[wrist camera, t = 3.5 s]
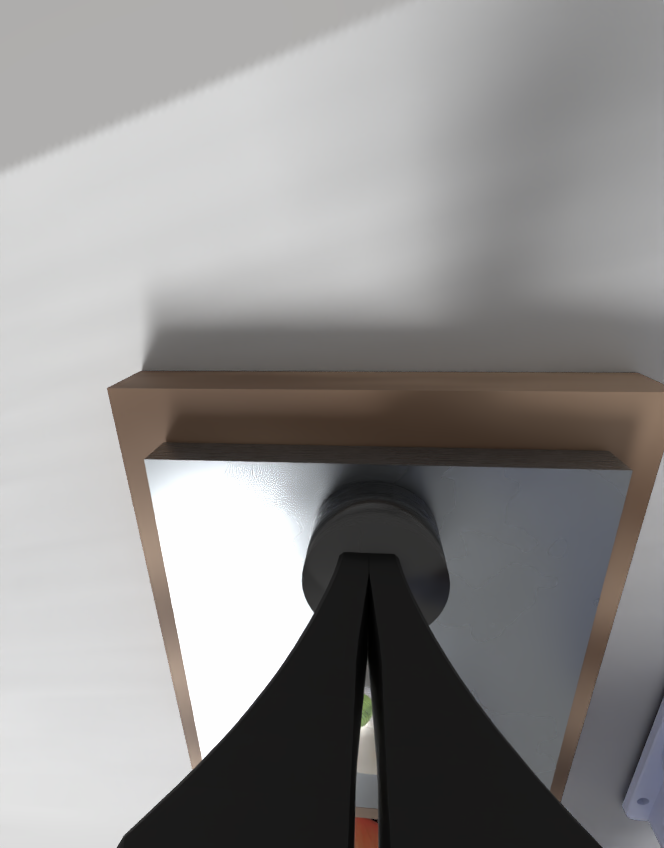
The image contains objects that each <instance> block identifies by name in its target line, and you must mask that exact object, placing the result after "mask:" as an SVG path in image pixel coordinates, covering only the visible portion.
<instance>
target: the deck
mask: <svg viewBox="0 0 664 848" xmlns="http://www.w3.org/2000/svg"><path fill="white" fill-rule="evenodd" d="M144 462H145V467H146V472H147V477H148V482H149V487H150V492H151V498H152V503H153V508H154V513H155V518H156V523H157V528H158V534H159V539H160V544H161V549H162V554H163V559H164V564H165V570H166V575H167V580H168V585H169V590H170V595H171V600H172V606H173V611H174V616H175V621H176V626H177V631H178V636H179V641H180V647H181V652H182V657H183V662H184V667H185V672H186V677H187V683H188V688H189V693H190V698H191V703H192V708H193V713H194V719H195V724H196V729H197V734H198V739H199V744H200V749H201V755H202V759H203V758H204V757H205V756H206V755H207V754H208V753H209V752H210V751H211V750H212V749H213V748H214V747H215V745H216V744H217V743H218V742H219V741H220V740H221V739H222V738H223V737H224V736H225V735H226V734H227V733H228V732H229V730H230V729H231V728H232V727H233V726H234V725H235V724H236V722H237V721H238V720H239V719H240V718H241V716H242V715H243V714H244V713H245V712H246V710H247V709H248V708H249V707H250V705H251V704H252V703H253V702H254V700H255V699H256V698H257V697H258V696H259V694H260V693H261V692H262V691H263V689H264V688H265V687H266V685H267V684H268V683H269V681H270V680H271V679H272V677H273V676H274V675H275V673H276V672H277V670H278V669H279V668H280V666H281V665H282V663H283V662H284V661H285V659H286V658H287V656H288V655H289V653H290V652H291V650H292V649H293V647H294V646H295V644H296V642H297V641H298V639H299V637H300V636H301V634H302V632H303V631H304V629H305V628H306V626H307V624H308V623H309V621H310V619H311V618H312V616H313V614H314V612H315V610H316V608H317V606H318V604H319V603H320V601H321V599H322V597H323V595H324V593H325V591H326V589H327V587H328V584H329V582H330V580H331V578H332V575H333V573H334V570H335V568H336V565H337V562H338V558H339V555H341V554H342V553H343V552H356V553H383V554H395V555H396V556H397V557H398V558H399V561H400V564H401V567H402V570H403V573H404V575H405V578H406V580H407V583H408V585H409V587H410V589H411V592H412V594H413V596H414V598H415V600H416V602H417V604H418V606H419V608H420V610H421V612H422V614H423V616H424V618H425V620H426V621H427V623H428V625H429V627H430V629H431V631H432V632H433V634H434V636H435V638H436V639H437V641H438V643H439V644H440V646H441V648H442V649H443V651H444V653H445V654H446V656H447V658H448V659H449V661H450V662H451V664H452V666H453V667H454V669H455V670H456V672H457V673H458V675H459V676H460V678H461V679H462V681H463V682H464V684H465V685H466V686H467V688H468V689H469V691H470V692H471V694H472V695H473V696H474V698H475V699H476V701H477V702H478V703H479V705H480V706H481V707H482V709H483V710H484V711H485V713H486V714H487V715H488V717H489V718H490V719H491V721H492V722H493V723H494V725H495V726H496V727H497V729H498V730H499V731H500V732H501V734H502V735H503V736H504V737H505V738H506V740H507V741H508V742H509V743H510V744H511V746H512V747H513V748H514V749H515V750H516V752H517V753H518V754H519V755H520V756H521V758H522V759H523V760H524V761H525V763H526V764H527V765H528V766H529V767H530V769H531V770H532V771H533V772H534V773H535V775H536V776H537V777H538V778H539V779H540V781H541V782H542V783H543V784H544V785H545V786H546V787H547V788H548V789H549V791H550V788H551V784H552V781H553V777H554V773H555V769H556V765H557V761H558V757H559V754H560V750H561V746H562V742H563V738H564V734H565V730H566V727H567V723H568V719H569V715H570V711H571V707H572V703H573V699H574V696H575V692H576V688H577V684H578V680H579V676H580V672H581V669H582V665H583V661H584V657H585V653H586V649H587V645H588V641H589V638H590V634H591V630H592V626H593V622H594V618H595V614H596V611H597V607H598V603H599V599H600V595H601V591H602V587H603V584H604V580H605V576H606V572H607V568H608V564H609V560H610V556H611V553H612V549H613V545H614V541H615V537H616V533H617V529H618V526H619V522H620V518H621V514H622V510H623V506H624V502H625V499H626V495H627V491H628V487H629V483H630V479H631V475H632V471H633V470H632V469H630V468H629V467H628V466H627V465H625V464H624V463H623V462H622V461H621V460H619V459H618V458H617V457H616V456H614V455H613V454H612V453H611V452H610V451H592V450H540V449H487V448H434V447H382V446H329V445H277V444H224V443H172V442H163V443H162V444H161V445H160V446H159V447H158V448H156V449H155V450H154V451H153V452H152V453H151V454H150V455H148V456H147V457H146V458H145V459H144ZM368 595H369V592H368ZM355 807H365V808H376V809H378V782H377V762H376V750H375V738H374V726H373V714H372V702H371V690H370V678H369V666H368V658H367V669H366V679H365V689H364V699H363V709H362V720H361V730H360V740H359V750H358V760H357V776H356V802H355Z"/></svg>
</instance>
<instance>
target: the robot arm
mask: <svg viewBox="0 0 664 848" xmlns="http://www.w3.org/2000/svg"><path fill="white" fill-rule="evenodd" d="M368 592H369V595H368ZM367 658H368V666H369V678H370V690H371V702H372V714H373V726H374V738H375V750H376V762H377V782H378V848H602V847H601V846H600V844H599V843H598V842H597V841H596V840H595V839H594V838H593V837H592V836H591V835H590V834H589V833H588V832H587V831H586V830H585V829H584V828H583V827H582V826H581V824H580V823H579V822H578V821H577V820H576V819H575V818H574V817H573V816H572V815H571V814H570V813H569V812H568V811H567V809H566V808H565V807H564V806H563V805H562V804H561V803H560V802H559V801H558V799H557V798H556V797H555V796H554V795H553V794H552V793H551V792H550V791H549V789H548V788H547V787H546V786H545V785H544V784H543V783H542V782H541V781H540V779H539V778H538V777H537V776H536V775H535V773H534V772H533V771H532V770H531V769H530V767H529V766H528V765H527V764H526V763H525V761H524V760H523V759H522V758H521V756H520V755H519V754H518V753H517V752H516V750H515V749H514V748H513V747H512V746H511V744H510V743H509V742H508V741H507V740H506V738H505V737H504V736H503V735H502V734H501V732H500V731H499V730H498V729H497V727H496V726H495V725H494V723H493V722H492V721H491V719H490V718H489V717H488V715H487V714H486V713H485V711H484V710H483V709H482V707H481V706H480V705H479V703H478V702H477V701H476V699H475V698H474V696H473V695H472V694H471V692H470V691H469V689H468V688H467V686H466V685H465V684H464V682H463V681H462V679H461V678H460V676H459V675H458V673H457V672H456V670H455V669H454V667H453V666H452V664H451V662H450V661H449V659H448V658H447V656H446V654H445V653H444V651H443V649H442V648H441V646H440V644H439V643H438V641H437V639H436V638H435V636H434V634H433V632H432V631H431V629H430V627H429V625H428V623H427V621H426V620H425V618H424V616H423V614H422V612H421V610H420V608H419V606H418V604H417V602H416V600H415V598H414V596H413V594H412V592H411V589H410V587H409V585H408V583H407V580H406V578H405V575H404V573H403V570H402V567H401V564H400V561H399V558H398V557H397V556H396V555H395V554H383V553H356V552H343V553H342V554H341V555H339V558H338V562H337V565H336V568H335V570H334V573H333V575H332V578H331V580H330V582H329V584H328V587H327V589H326V591H325V593H324V595H323V597H322V599H321V601H320V603H319V604H318V606H317V608H316V610H315V612H314V614H313V616H312V618H311V619H310V621H309V623H308V624H307V626H306V628H305V629H304V631H303V632H302V634H301V636H300V637H299V639H298V641H297V642H296V644H295V646H294V647H293V649H292V650H291V652H290V653H289V655H288V656H287V658H286V659H285V661H284V662H283V663H282V665H281V666H280V668H279V669H278V670H277V672H276V673H275V675H274V676H273V677H272V679H271V680H270V681H269V683H268V684H267V685H266V687H265V688H264V689H263V691H262V692H261V693H260V694H259V696H258V697H257V698H256V699H255V700H254V702H253V703H252V704H251V705H250V707H249V708H248V709H247V710H246V712H245V713H244V714H243V715H242V716H241V718H240V719H239V720H238V721H237V722H236V724H235V725H234V726H233V727H232V728H231V729H230V730H229V732H228V733H227V734H226V735H225V736H224V737H223V738H222V739H221V740H220V741H219V742H218V743H217V744H216V745H215V747H214V748H213V749H212V750H211V751H210V752H209V753H208V754H207V755H206V756H205V757H204V758H203V759H202V760H201V762H200V763H199V764H198V765H197V766H196V767H195V768H194V769H193V770H192V771H191V772H190V773H189V774H188V775H187V776H186V777H185V778H184V779H183V780H182V781H181V782H180V783H179V784H178V785H177V786H176V787H175V788H174V789H173V790H172V791H171V792H170V793H169V794H167V795H166V796H165V797H164V798H163V799H162V800H161V801H160V802H159V803H158V804H157V805H156V806H155V807H154V808H153V809H152V810H151V811H150V812H148V813H147V814H146V815H145V816H144V817H143V818H142V819H141V820H140V821H139V822H138V823H137V824H136V825H135V826H134V827H133V828H131V829H130V830H129V831H128V832H127V833H126V834H125V835H124V836H123V838H122V840H121V841H120V843H119V845H118V846H117V848H354V844H355V802H356V776H357V760H358V750H359V740H360V730H361V720H362V709H363V699H364V689H365V679H366V669H367ZM622 807H623V810H624V812H625V814H626V816H627V817H628V818H630V819H632V820H639V821H649V823H650V825H651V827H652V829H653V831H654V833H655V836H656V838H657V840H658V842H659V844H660V846H661V848H664V698H663V700H662V703H661V705H660V708H659V711H658V713H657V716H656V718H655V721H654V724H653V726H652V729H651V731H650V734H649V737H648V739H647V742H646V744H645V747H644V750H643V752H642V755H641V757H640V760H639V763H638V765H637V768H636V771H635V773H634V776H633V778H632V781H631V784H630V786H629V789H628V791H627V794H626V797H625V799H624V802H623V804H622Z"/></svg>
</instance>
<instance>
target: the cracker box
mask: <svg viewBox="0 0 664 848" xmlns="http://www.w3.org/2000/svg"><path fill="white" fill-rule="evenodd" d="M354 848H378V823H377V822H375V821H373V820H371V819H369V818H359V817H355V844H354Z"/></svg>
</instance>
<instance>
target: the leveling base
mask: <svg viewBox="0 0 664 848" xmlns="http://www.w3.org/2000/svg"><path fill="white" fill-rule="evenodd" d="M107 390H108V395H109V399H110V404H111V408H112V413H113V417H114V422H115V426H116V431H117V435H118V439H119V444H120V448H121V453H122V457H123V462H124V466H125V471H126V475H127V480H128V484H129V489H130V493H131V498H132V502H133V507H134V511H135V515H136V520H137V524H138V529H139V533H140V538H141V542H142V547H143V551H144V556H145V560H146V565H147V569H148V574H149V578H150V583H151V587H152V591H153V596H154V600H155V605H156V609H157V614H158V618H159V623H160V627H161V632H162V636H163V641H164V645H165V650H166V654H167V659H168V663H169V667H170V672H171V676H172V681H173V685H174V690H175V694H176V699H177V703H178V708H179V712H180V717H181V721H182V726H183V730H184V735H185V739H186V743H187V748H188V752H189V757H190V761H191V766H192V769H194V768H195V767H196V766H197V765H198V764H199V763H200V762H201V760H202V755H201V749H200V744H199V739H198V734H197V729H196V724H195V719H194V713H193V708H192V703H191V698H190V693H189V688H188V683H187V677H186V672H185V667H184V662H183V657H182V652H181V647H180V641H179V636H178V631H177V626H176V621H175V616H174V611H173V606H172V600H171V595H170V590H169V585H168V580H167V575H166V570H165V564H164V559H163V554H162V549H161V544H160V539H159V534H158V528H157V523H156V518H155V513H154V508H153V503H152V498H151V492H150V487H149V482H148V477H147V472H146V467H145V462H144V459H145V458H146V457H147V456H148V455H150V454H151V453H152V452H153V451H154V450H155V449H156V448H158V447H159V446H160V445H161V444H162V443H163V442H172V443H224V444H277V445H329V446H382V447H434V448H487V449H540V450H592V451H610V452H611V453H612V454H613V455H614V456H616V457H617V458H618V459H619V460H621V461H622V462H623V463H624V464H625V465H627V466H628V467H629V468H630V469H632V470H633V471H632V475H631V479H630V483H629V487H628V491H627V495H626V499H625V502H624V506H623V510H622V514H621V518H620V522H619V526H618V529H617V533H616V537H615V541H614V545H613V549H612V553H611V556H610V560H609V564H608V568H607V572H606V576H605V580H604V584H603V587H602V591H601V595H600V599H599V603H598V607H597V611H596V614H595V618H594V622H593V626H592V630H591V634H590V638H589V641H588V645H587V649H586V653H585V657H584V661H583V665H582V669H581V672H580V676H579V680H578V684H577V688H576V692H575V696H574V699H573V703H572V707H571V711H570V715H569V719H568V723H567V727H566V730H565V734H564V738H563V742H562V746H561V750H560V754H559V757H558V761H557V765H556V769H555V773H554V777H553V781H552V784H551V788H550V792H551V793H552V794H553V795H554V796H555V797H556V798H557V799H558V801H559V802H561V799H562V795H563V792H564V789H565V785H566V782H567V778H568V775H569V772H570V768H571V765H572V761H573V758H574V755H575V751H576V748H577V744H578V741H579V737H580V734H581V731H582V727H583V724H584V720H585V717H586V714H587V710H588V707H589V703H590V700H591V697H592V693H593V690H594V686H595V683H596V680H597V676H598V673H599V669H600V666H601V663H602V659H603V656H604V652H605V649H606V646H607V642H608V639H609V635H610V632H611V629H612V625H613V622H614V618H615V615H616V612H617V608H618V605H619V601H620V598H621V595H622V591H623V588H624V584H625V581H626V577H627V574H628V571H629V567H630V564H631V560H632V557H633V554H634V550H635V547H636V543H637V540H638V537H639V533H640V530H641V526H642V523H643V520H644V516H645V513H646V509H647V506H648V503H649V499H650V496H651V492H652V489H653V486H654V482H655V479H656V475H657V472H658V469H659V465H660V462H661V458H662V455H663V452H664V384H662V383H659V382H657V381H655V380H653V379H651V378H648V377H646V376H644V375H642V374H640V373H589V372H289V371H140V372H138V373H136V374H134V375H132V376H130V377H128V378H126V379H124V380H122V381H120V382H118V383H116V384H114V385H112V386H110V387H109V388H107ZM355 817H359V818H369V819H378V809H376V808H365V807H355Z"/></svg>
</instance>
